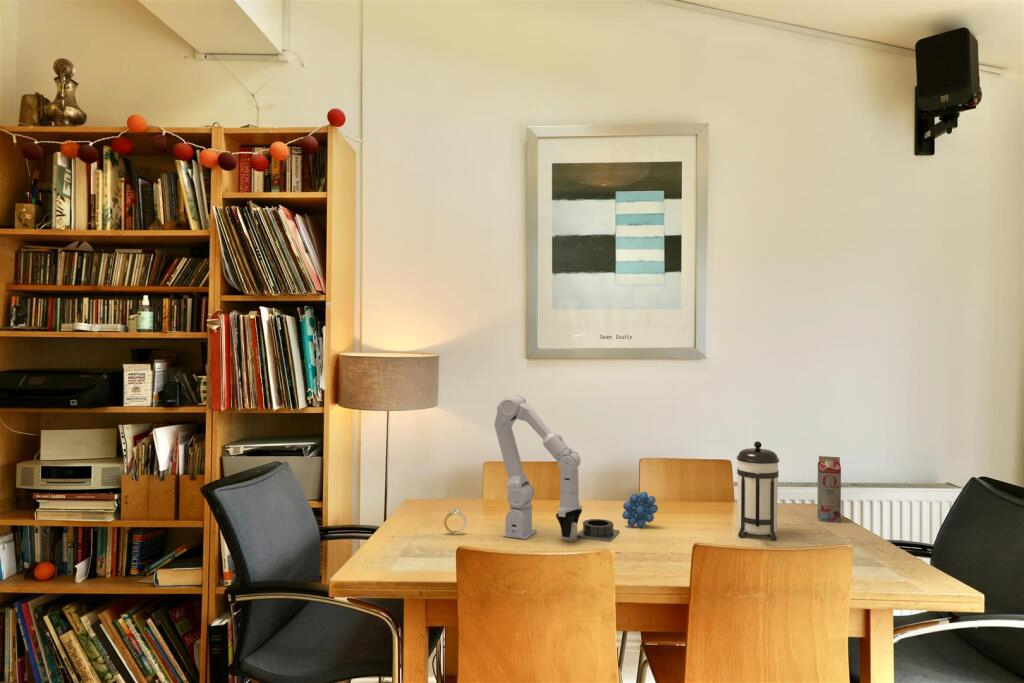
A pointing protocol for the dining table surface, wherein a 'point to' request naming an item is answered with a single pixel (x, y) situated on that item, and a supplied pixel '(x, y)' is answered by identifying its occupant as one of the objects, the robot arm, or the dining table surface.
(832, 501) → the juice carton
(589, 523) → the flanged pipe fitting
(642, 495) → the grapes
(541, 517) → the dining table surface
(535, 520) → the dining table surface
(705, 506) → the dining table surface
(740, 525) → the coffee press
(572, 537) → the cap
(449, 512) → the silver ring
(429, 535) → the dining table surface
